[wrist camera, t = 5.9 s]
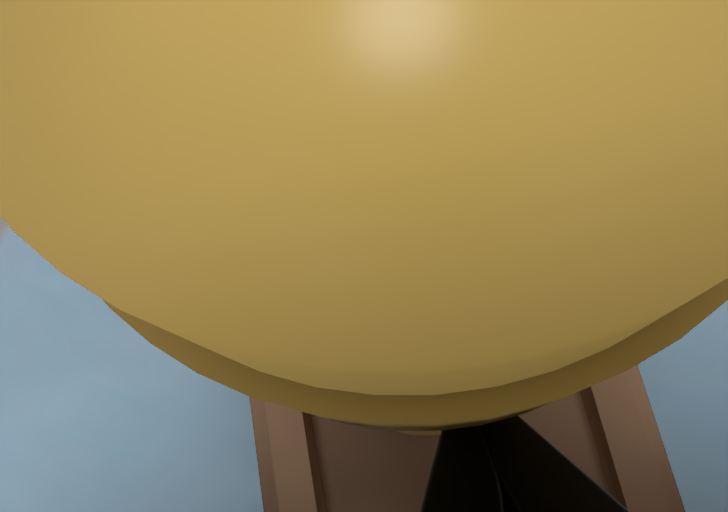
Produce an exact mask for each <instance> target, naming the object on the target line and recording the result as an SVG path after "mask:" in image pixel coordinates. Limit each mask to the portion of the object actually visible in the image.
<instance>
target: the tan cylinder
mask: <svg viewBox="0 0 728 512" xmlns="http://www.w3.org/2000/svg"><path fill="white" fill-rule="evenodd" d="M0 215H1V217H2V218H3V219H4V220H5V222H6V223H7V224H8V225H9V227H10V228H11V229H12V230H13V231H14V232H15V233H16V234H17V235H19V236H20V237H21V238H22V239H23V240H24V241H25V242H27V243H28V244H29V245H30V246H31V247H32V248H33V249H35V250H36V251H37V252H38V253H39V254H40V255H41V256H43V257H44V258H45V259H46V260H47V261H48V262H49V263H51V264H52V265H53V266H54V267H55V268H56V269H57V270H59V271H60V272H61V273H62V274H64V275H65V276H67V277H69V278H70V279H72V280H73V281H75V282H77V283H78V284H80V285H81V286H83V287H84V288H86V289H88V290H89V291H91V292H92V293H94V294H96V295H97V296H99V297H100V298H102V299H103V300H104V302H105V303H106V304H107V305H108V306H109V307H110V308H111V309H112V310H113V311H114V312H115V313H116V314H117V315H119V316H120V317H121V318H122V319H123V320H124V321H125V322H127V323H128V324H129V325H130V326H131V327H132V328H134V329H135V330H136V331H137V332H138V333H139V334H140V335H142V336H143V337H144V338H145V339H146V340H147V341H148V342H150V343H151V344H153V345H154V346H156V347H157V348H159V349H161V350H162V351H164V352H165V353H167V354H168V355H170V356H172V357H173V358H175V359H176V360H178V361H179V362H181V363H183V364H184V365H186V366H187V367H189V368H190V369H192V370H193V371H195V372H197V373H199V374H201V375H203V376H205V377H208V378H210V379H212V380H214V381H217V382H219V383H221V384H223V385H225V386H228V387H230V388H232V389H234V390H237V391H239V392H241V393H243V394H246V395H248V396H250V397H253V398H257V399H260V400H264V401H267V402H271V403H274V404H278V405H281V406H285V407H288V408H291V409H295V410H298V411H302V412H305V413H309V414H312V415H316V416H319V417H323V418H326V419H330V420H333V421H337V422H340V423H344V424H347V425H354V426H361V427H368V428H375V429H382V430H389V431H396V432H400V433H403V434H409V435H416V436H439V435H440V434H441V430H449V429H457V428H464V427H472V426H480V425H484V424H488V423H491V422H495V421H499V420H503V419H506V418H510V417H514V416H517V415H521V414H525V413H527V412H530V411H532V410H535V409H537V408H540V407H542V406H545V405H547V404H550V403H552V402H555V401H557V400H560V399H562V398H565V397H567V396H569V395H572V394H574V393H576V392H579V391H581V390H583V389H586V388H588V387H590V386H593V385H595V384H598V383H600V382H602V381H605V380H607V379H609V378H612V377H614V376H616V375H619V374H621V373H623V372H626V371H627V370H629V369H631V368H632V367H634V366H636V365H637V364H639V363H641V362H642V361H644V360H646V359H647V358H649V357H651V356H652V355H654V354H656V353H657V352H659V351H661V350H662V349H664V348H666V347H667V346H669V345H671V344H672V343H674V342H675V341H677V340H679V339H680V338H682V337H683V336H684V335H685V334H687V333H688V332H689V331H690V330H691V329H693V328H694V327H695V326H696V325H698V324H699V323H700V322H701V321H702V320H704V319H705V318H706V317H707V316H708V315H710V314H711V313H712V312H713V311H715V310H716V309H717V308H718V307H719V306H721V305H722V304H723V303H724V302H726V301H727V300H728V0H0Z"/></svg>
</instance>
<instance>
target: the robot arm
mask: <svg viewBox="0 0 728 512" xmlns="http://www.w3.org/2000/svg"><path fill="white" fill-rule="evenodd" d="M420 512H630V511H629V510H628V509H626V508H625V507H624V506H623V505H622V504H621V503H619V502H618V501H617V500H616V499H615V498H614V497H612V496H611V495H610V494H609V493H608V492H607V491H605V490H604V489H603V488H602V487H601V486H600V485H598V484H597V483H596V482H595V481H594V480H593V479H592V478H590V477H589V476H588V475H587V474H586V473H585V472H583V471H582V470H581V469H580V468H579V467H578V466H576V465H575V464H574V463H573V462H572V461H571V460H569V459H568V458H567V457H566V456H565V455H564V454H562V453H561V452H560V451H559V450H558V449H557V448H555V447H554V446H553V445H552V444H551V443H550V442H549V441H547V440H546V439H545V438H544V437H543V436H542V435H540V434H539V433H538V432H537V431H536V430H535V429H533V428H532V427H531V426H530V425H529V424H528V423H526V422H525V421H524V420H523V419H522V418H521V417H519V416H518V415H517V416H514V417H510V418H506V419H503V420H499V421H495V422H491V423H488V424H484V425H480V426H472V427H464V428H457V429H449V430H441V434H440V438H439V441H438V445H437V449H436V452H435V456H434V460H433V464H432V467H431V471H430V475H429V478H428V482H427V486H426V490H425V493H424V497H423V501H422V504H421V508H420Z"/></svg>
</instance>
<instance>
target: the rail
mask: <svg viewBox="0 0 728 512" xmlns="http://www.w3.org/2000/svg"><path fill="white" fill-rule="evenodd" d="M250 404H251V412H252V420H253V428H254V436H255V444H256V452H257V460H258V468H259V476H260V484H261V492H262V500H263V508H264V512H420V508H421V504H422V501H423V497H424V493H425V490H426V486H427V482H428V478H429V475H430V471H431V467H432V464H433V460H434V456H435V452H436V449H437V445H438V441H439V438H440V435H439V436H416V435H409V434H403V433H400V432H396V431H389V430H382V429H375V428H368V427H361V426H354V425H347V424H344V423H340V422H337V421H333V420H330V419H326V418H323V417H319V416H316V415H312V414H309V413H305V412H302V411H298V410H295V409H291V408H288V407H285V406H281V405H278V404H274V403H271V402H267V401H264V400H260V399H257V398H253V397H250ZM518 416H519V417H521V418H522V419H523V420H524V421H525V422H526V423H528V424H529V425H530V426H531V427H532V428H533V429H535V430H536V431H537V432H538V433H539V434H540V435H542V436H543V437H544V438H545V439H546V440H547V441H549V442H550V443H551V444H552V445H553V446H554V447H555V448H557V449H558V450H559V451H560V452H561V453H562V454H564V455H565V456H566V457H567V458H568V459H569V460H571V461H572V462H573V463H574V464H575V465H576V466H578V467H579V468H580V469H581V470H582V471H583V472H585V473H586V474H587V475H588V476H589V477H590V478H592V479H593V480H594V481H595V482H596V483H597V484H598V485H600V486H601V487H602V488H603V489H604V490H605V491H607V492H608V493H609V494H610V495H611V496H612V497H614V498H615V499H616V500H617V501H618V502H619V503H621V504H622V505H623V506H624V507H625V508H626V509H628V510H629V511H630V512H685V509H684V506H683V503H682V500H681V497H680V494H679V491H678V488H677V485H676V482H675V479H674V476H673V473H672V470H671V467H670V464H669V460H668V457H667V454H666V451H665V448H664V445H663V442H662V439H661V436H660V433H659V430H658V427H657V424H656V421H655V418H654V415H653V412H652V409H651V406H650V402H649V399H648V396H647V393H646V390H645V387H644V384H643V381H642V378H641V375H640V372H639V369H638V366H637V365H636V366H634V367H632V368H631V369H629V370H627V371H626V372H623V373H621V374H619V375H616V376H614V377H612V378H609V379H607V380H605V381H602V382H600V383H598V384H595V385H593V386H590V387H588V388H586V389H583V390H581V391H579V392H576V393H574V394H572V395H569V396H567V397H565V398H562V399H560V400H557V401H555V402H552V403H550V404H547V405H545V406H542V407H540V408H537V409H535V410H532V411H530V412H527V413H525V414H521V415H518Z"/></svg>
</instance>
